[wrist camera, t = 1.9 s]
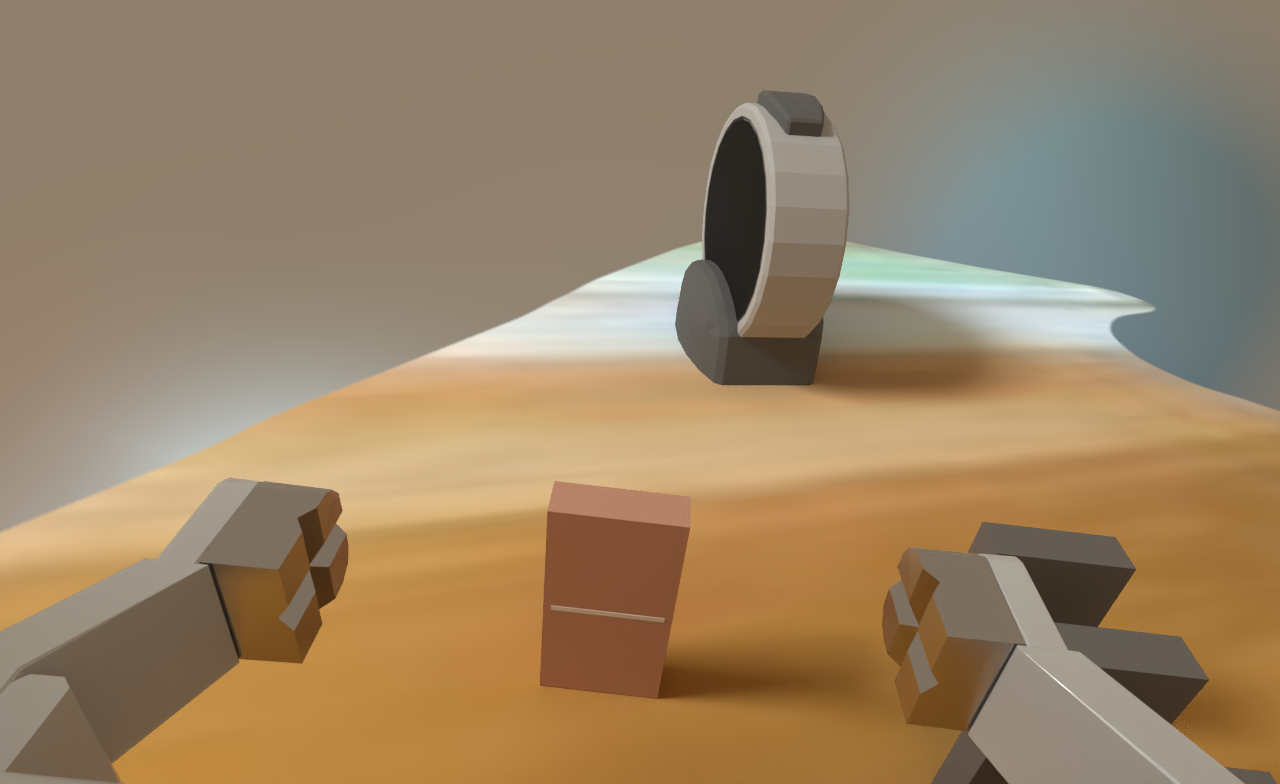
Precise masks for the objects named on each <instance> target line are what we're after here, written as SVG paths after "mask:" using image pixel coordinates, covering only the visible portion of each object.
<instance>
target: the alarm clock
mask: <svg viewBox="0 0 1280 784" xmlns="http://www.w3.org/2000/svg"><path fill="white" fill-rule="evenodd" d="M704 205H705V206H704V213H703V233H702V260H697V261H695V262H692V263H691V264H690V266H689V267H688V268H687V270H686V271H685V274H684V278H683V282H682V286H681V292H680V297H679V302H678V308H677V314H676V323H675V326H676V330H677V335H678V340H679V342H680V343H681V345H682V347H683V349H684V351H685V353H686V354H687V356H688V357H689V358H690V359H691V361H692V362H693V363H694V364H695V365H696V367H697V368H698V369H699V370H700V371H701V372H702V373H703V374H704V375H706V376H707V377H708V378H709V379H710V380H712V381H713V382H714V383H717V384H720V385H809V384H811V383H813V379H814V374H815V369H816V364H817V359H818V354H819V349H820V344H821V338H822V330H823V315H824V313H825V311H826V309H827V308H828V306H829V304H830V302H831V299H832V296H833V293H834V290H835V287H836V285H837V282H838V279H839V276H840V271H841V266H842V261H843V256H844V252H845V247H846V238H847V227H848V215H849V193H848V174H847V168H846V162H845V156H844V150H843V147H842V144H841V141H840V139H839V136H838V133H837V131H836V128H835V126H834V125H833V123H832V122H831V121H830V120H829V118H828V117H827V116H826V114H825V113H824V111H823V108H822V106H821V104H820V103H819V101H818V100H817V99H816V97H815V96H812V95H809V94H803V93H791V92H777V91H764V90H763V91H762V92H761V93H760V94H759V97H758V102H757V103H745V104H743V105H742V106H739V107H738V108H736V109H735V110H734V112H733V113H732V114H731V116H730V117H729V119H728V120H727V121H726V123H725V125H724V127H723V129H722V132H721V134H720V136H719V139H718V141H717V144H716V148H715V152H714V155H713V159H712V162H711V167H710V173H709V177H708V182H707V188H706V197H705V204H704Z"/></svg>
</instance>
